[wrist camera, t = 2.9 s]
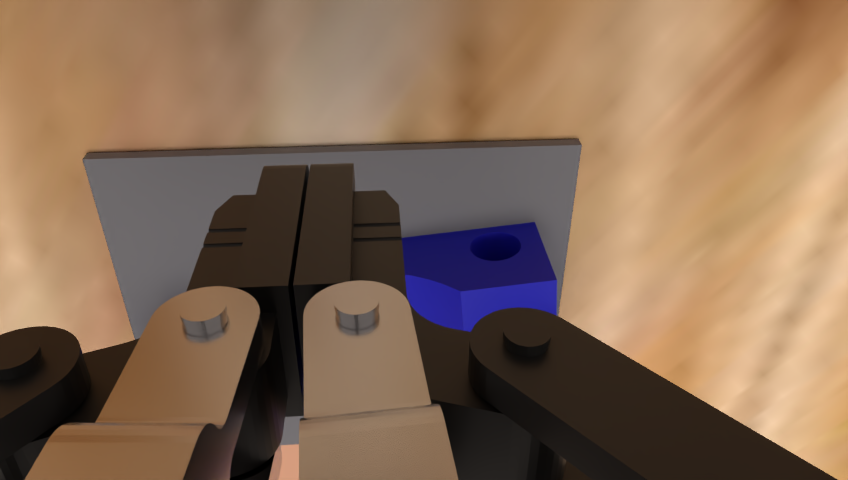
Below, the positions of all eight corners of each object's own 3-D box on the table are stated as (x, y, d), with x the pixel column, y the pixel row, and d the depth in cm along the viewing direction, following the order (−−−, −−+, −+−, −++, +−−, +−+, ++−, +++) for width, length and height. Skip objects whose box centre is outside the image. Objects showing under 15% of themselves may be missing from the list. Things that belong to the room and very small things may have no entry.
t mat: (-61, 157, 20) (-69, 164, 19) (710, 135, 21) (716, 140, 21) (111, 573, 31) (108, 582, 30) (611, 541, 32) (613, 549, 32)
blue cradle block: (534, 221, 22) (586, 355, 17) (535, 332, 24) (580, 477, 19) (145, 268, 22) (80, 416, 17) (186, 374, 24) (141, 531, 19)
